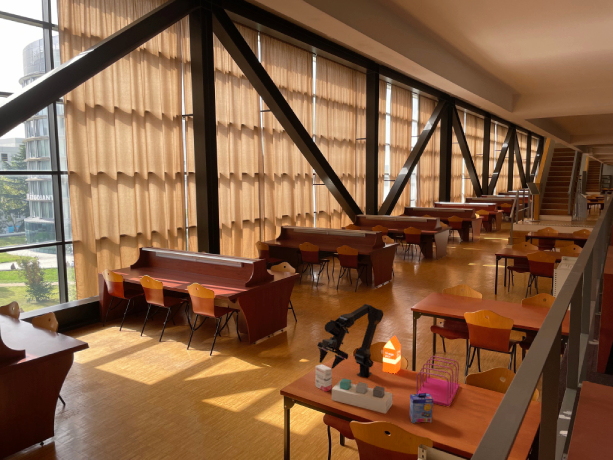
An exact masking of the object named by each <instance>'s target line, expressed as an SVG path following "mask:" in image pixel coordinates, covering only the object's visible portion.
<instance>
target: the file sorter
mask: <svg viewBox="0 0 613 460" xmlns="http://www.w3.org/2000/svg"><path fill="white" fill-rule="evenodd" d="M435 358H437V359H435ZM439 359H441V360H439ZM445 360H447V361H445ZM431 361H436V362H440V363H445V364H449V365H450V364H451V365H453V366H454V367H455V374H454V370H453V369H452V368H451V367H450V366H445V365H441V364H434V363H431ZM450 361H453V362H455V363H456V364H457V365H456V364H455V363H453V362H450ZM425 366H426V367H425ZM431 366H435V367H441V368H447V369H450V370H451V373H450V372H449V371H446V370H440V369H436V368H431ZM425 370H426V371H425ZM459 370H460V365H459V362H458V361H457V360H455V359H451V358H447V357H441V356H437V355H431V356H430V357H429V358H428V359H427V361H426V363H424V364H423V365H422V368H421V369H420V370H419V372H418V373H417V374H416V394H419V393H426V394H430V395H431V397H432V398H433V405H438V404H439V405H440V406H442V405H445V406H444V407H446V406H449V407H450V405H452V404H451V403H452V402H453V400H454V398H455V396H456V394H457V392H458V390H459V388H460V384H459V372H460V371H459ZM431 371H436V372H440V373H445V374H448V375H449V377H450V379H449V378H448V377H446V375H443V374H442V375H441V374H436V373H431ZM451 374H452V375H451ZM430 375H431V376H436V377H442V378H445V379H446V380H443V379H440V378H434V377H430ZM454 375H455V377H454ZM454 395H455V396H454ZM453 397H454V398H453ZM452 399H453V400H452ZM451 401H452V402H451Z"/></svg>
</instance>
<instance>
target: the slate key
mask: <svg viewBox="0 0 613 460" xmlns="http://www.w3.org/2000/svg"><path fill="white" fill-rule="evenodd" d="M355 385H356V392H357V393H361V394H365V393H366V392H367V389H368V388H369V387H368V386H369V385H368V383H366V382H363V381H359V382H358V383H357V384H355Z"/></svg>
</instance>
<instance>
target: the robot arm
mask: <svg viewBox="0 0 613 460" xmlns="http://www.w3.org/2000/svg"><path fill="white" fill-rule="evenodd" d="M366 315H367V321H368V323H367V326H366V329H365V333H364V337H363V340H362V344H361V346H360V347H359V348H356V350H355V353H354V359H355V363H356V364H358V365H359V371H358V373H357V377H362V378H367V379H369V377H370V376H371V375H372V374H373V373H372V372H370V368H372V367H373V366H374V363H375V362H374V361H373V360H372V358H371V356H372V354H371V346H372V343H373V339H374V336H375V333H376V329H377V326H378V325H379V324H380V323H381V322H382V319H383V317H384V311H383V310H382V309H379V308H376V307H374V306H372V304H367V303H364V304H363V305H362V306H360V307H359V308H356V309H355V310H353V311H351V312H349V313H343V314H341V315H340V316H339V317H338V318H336V319H330V321H328V322H326V324H324V330H325V332H326V333H328V334H330V335H332V336H331V337H330V336H329V337H330V338H329V339H328V338H326V339H324V338H322V340H321V341H319V342H318V343H317V345H316V346H317V348H318V350H319V363H320V364H322V363H323V362H324V360H325V358H326V356H327V355H328V353H329V351H330V352H331V353H334V354H335V355H334V360H333V363H332V365H331V369H332V370H333V369H334V368H336V366H337V367H338V365H339V364H340V363H342V362H343V361H345V360H348V358H349V353H347V352H345V351H344V350H341V346H342V345H343V344H344V342H343V341H344V338H345V336H346V334H349V333H350V331H349V329H350V328H351V327H352V326H353V325H354V324H355V323H356V321H357V320H359V319H361V318H363V317H365V316H366Z"/></svg>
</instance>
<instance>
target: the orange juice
mask: <svg viewBox="0 0 613 460" xmlns="http://www.w3.org/2000/svg"><path fill="white" fill-rule="evenodd" d="M382 349H383V351H382V352H383V353H382V372H384V373H388V372H389V373H388V374H392V373H394V374H393V375H396V374H397V373H398V372H399V371H400V370H401V353H402V351H401V350H402V345H401V343H400V342H399V340H398V338H397V336H396V335H394V336H392V337H391V338H390V339H388V341H387V342H386V344H384V346H383V347H382ZM395 373H396V374H395Z"/></svg>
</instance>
